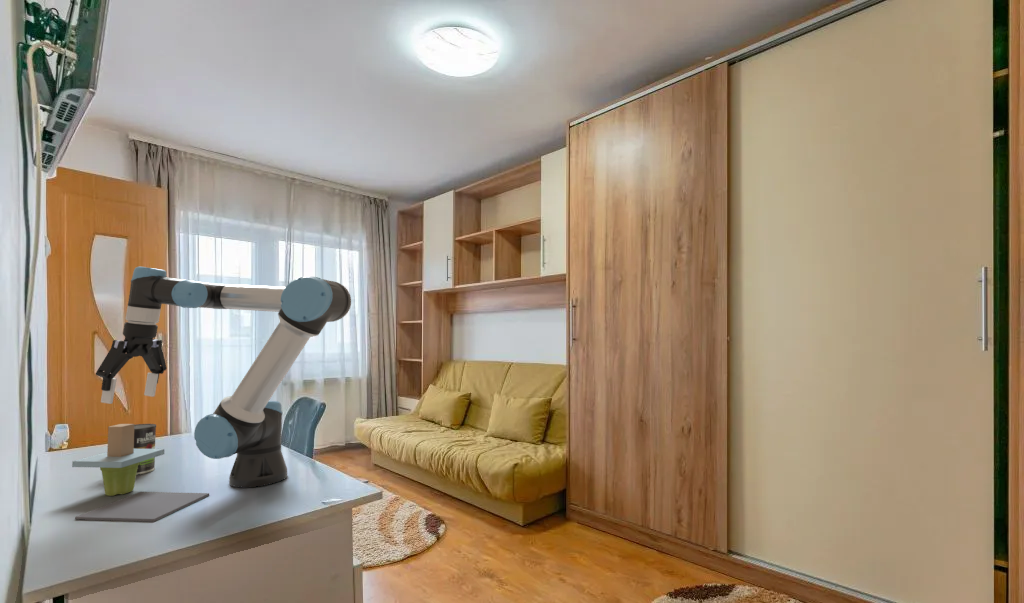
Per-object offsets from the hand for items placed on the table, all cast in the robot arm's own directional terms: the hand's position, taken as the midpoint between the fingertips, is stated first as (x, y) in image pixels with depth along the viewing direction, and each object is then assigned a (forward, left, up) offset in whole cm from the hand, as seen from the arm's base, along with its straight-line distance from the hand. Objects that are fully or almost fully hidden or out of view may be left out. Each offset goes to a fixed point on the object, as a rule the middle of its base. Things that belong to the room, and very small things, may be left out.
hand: (129, 399), depth 136 cm
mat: (-15, +10, -25) cm, 31 cm away
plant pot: (+2, 0, -25) cm, 26 cm away
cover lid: (+2, 0, -17) cm, 17 cm away
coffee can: (+15, -19, -25) cm, 35 cm away
